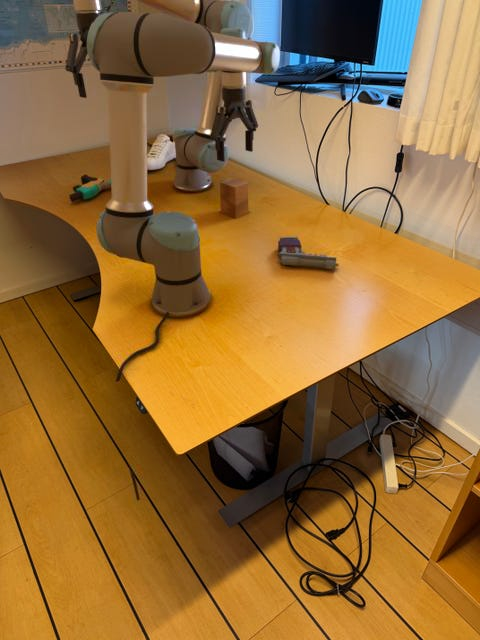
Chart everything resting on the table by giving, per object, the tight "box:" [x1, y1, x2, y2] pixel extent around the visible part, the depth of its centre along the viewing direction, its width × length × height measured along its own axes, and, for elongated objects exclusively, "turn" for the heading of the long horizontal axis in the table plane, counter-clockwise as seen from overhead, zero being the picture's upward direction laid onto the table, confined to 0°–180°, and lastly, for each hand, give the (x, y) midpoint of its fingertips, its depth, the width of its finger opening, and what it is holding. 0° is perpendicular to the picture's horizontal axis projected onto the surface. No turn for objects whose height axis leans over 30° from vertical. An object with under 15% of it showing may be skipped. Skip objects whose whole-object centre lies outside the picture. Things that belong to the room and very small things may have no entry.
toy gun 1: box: [69, 174, 111, 203], centre depth 188 cm, size 4×26×15 cm
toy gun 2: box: [277, 236, 339, 270], centre depth 142 cm, size 4×19×15 cm
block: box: [219, 177, 249, 219], centre depth 170 cm, size 8×7×11 cm
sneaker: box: [147, 133, 176, 171], centre depth 214 cm, size 10×29×12 cm, turn 163°
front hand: (235, 155), depth 160 cm, fingers open, 13 cm apart
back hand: (102, 93), depth 147 cm, fingers open, 13 cm apart
